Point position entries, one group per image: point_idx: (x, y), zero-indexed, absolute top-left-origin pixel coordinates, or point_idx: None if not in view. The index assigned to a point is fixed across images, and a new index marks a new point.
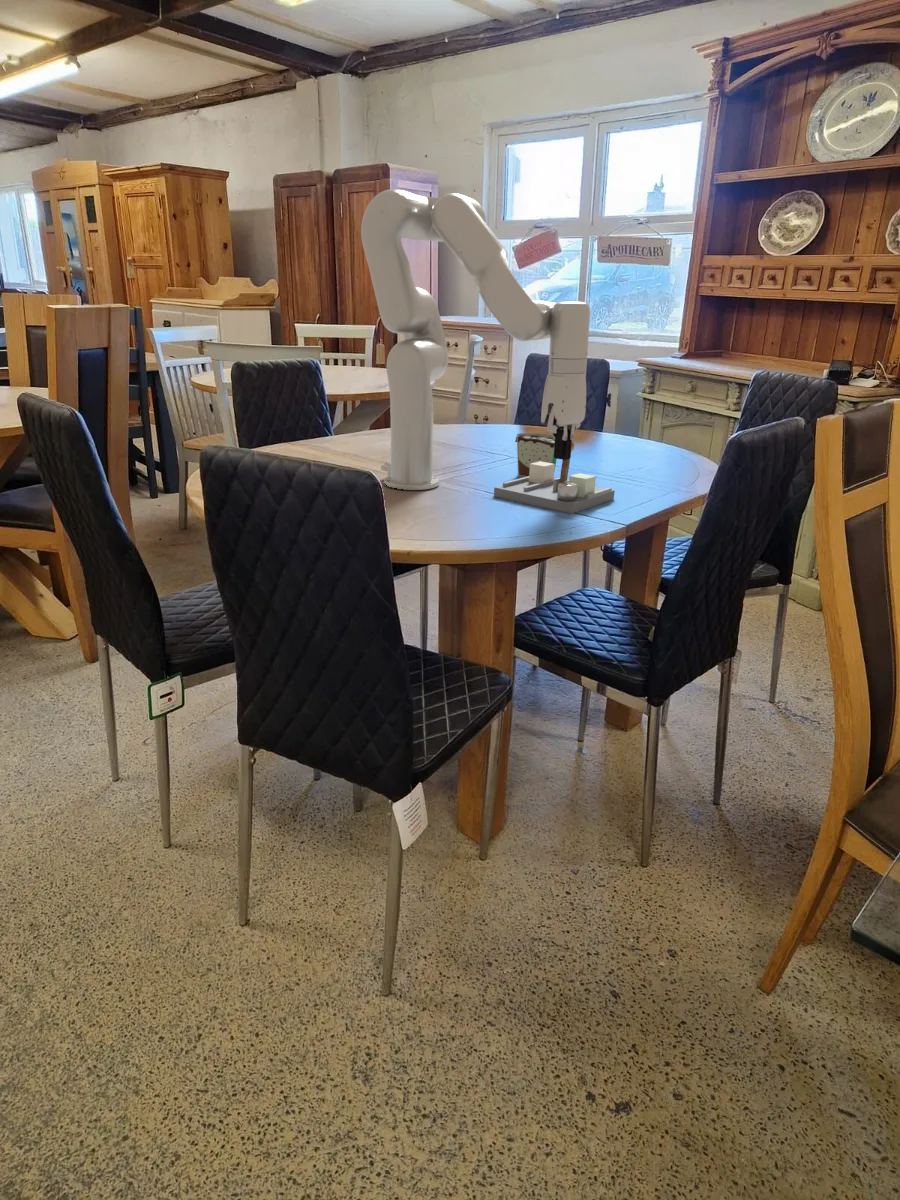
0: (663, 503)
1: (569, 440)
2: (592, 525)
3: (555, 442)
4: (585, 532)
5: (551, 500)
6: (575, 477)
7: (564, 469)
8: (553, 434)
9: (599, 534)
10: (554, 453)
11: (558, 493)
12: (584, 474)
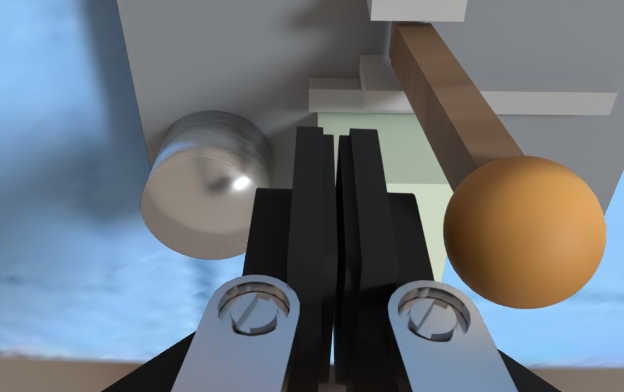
0: (619, 340)
1: (349, 389)
2: (105, 307)
3: (290, 240)
4: (11, 326)
5: (139, 102)
6: None
7: (419, 103)
8: (130, 379)
9: (40, 357)
10: (295, 151)
11: (158, 153)
12: (436, 225)
